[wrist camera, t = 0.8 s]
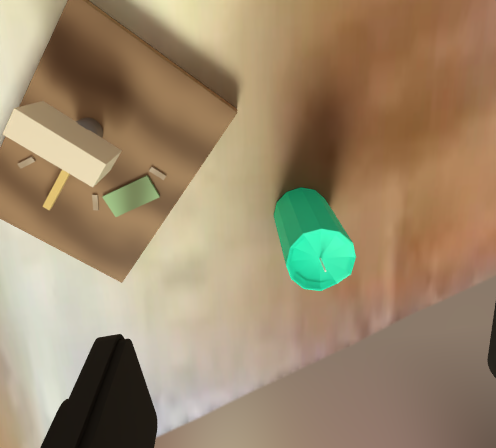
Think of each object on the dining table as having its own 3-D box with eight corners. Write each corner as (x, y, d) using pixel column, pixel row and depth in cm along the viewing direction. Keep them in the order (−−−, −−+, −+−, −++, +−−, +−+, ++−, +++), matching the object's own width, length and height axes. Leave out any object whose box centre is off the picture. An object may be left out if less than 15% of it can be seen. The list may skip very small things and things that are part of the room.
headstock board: (83, -4, 32) (70, -9, 30) (237, 108, 36) (237, 113, 34) (-11, 196, 39) (-28, 206, 37) (127, 270, 43) (121, 284, 41)
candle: (274, 239, 42) (289, 304, 32) (272, 189, 40) (287, 240, 29) (327, 235, 42) (360, 299, 32) (328, 185, 40) (364, 234, 29)
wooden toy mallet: (58, 96, 33) (14, 107, 26) (130, 142, 35) (106, 163, 28) (14, 186, 36) (-35, 215, 29) (82, 224, 38) (50, 260, 31)
